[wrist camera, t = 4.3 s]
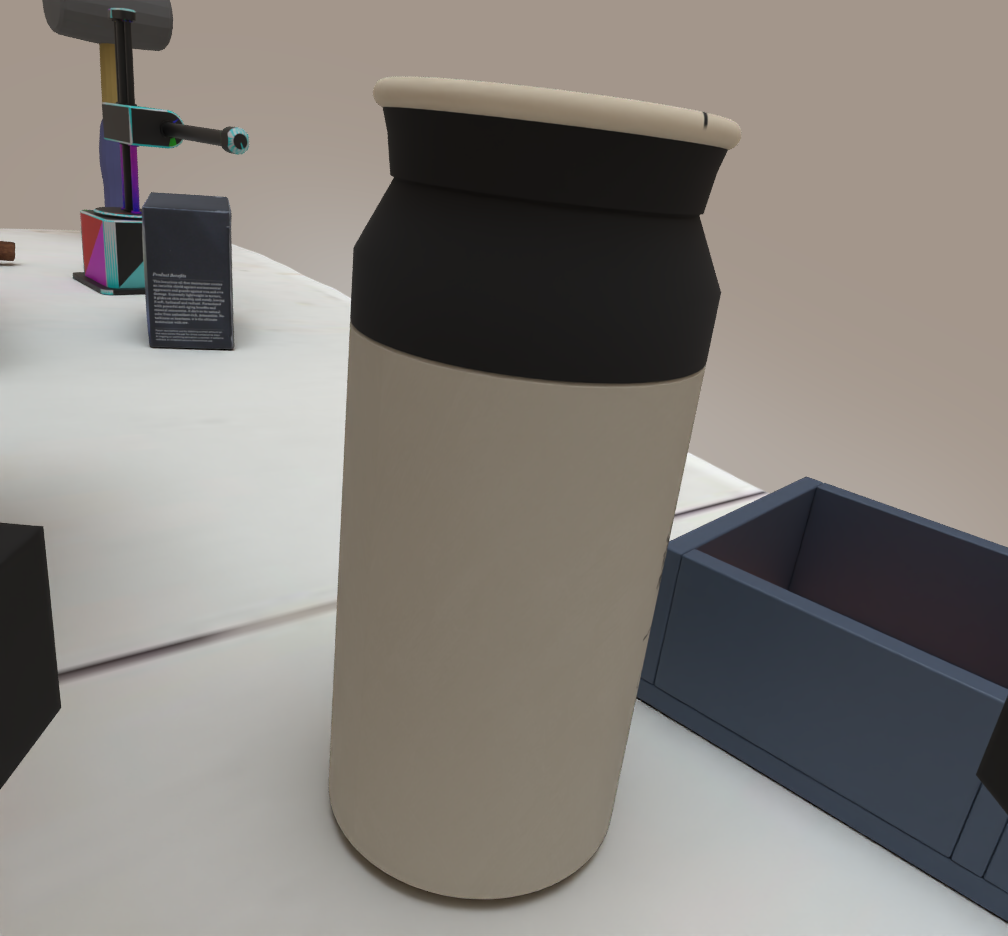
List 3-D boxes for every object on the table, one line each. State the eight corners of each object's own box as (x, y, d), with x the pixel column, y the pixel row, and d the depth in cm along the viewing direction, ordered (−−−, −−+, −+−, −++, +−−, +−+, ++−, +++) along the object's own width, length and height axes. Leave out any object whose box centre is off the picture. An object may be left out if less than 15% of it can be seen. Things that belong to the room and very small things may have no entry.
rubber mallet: (78, 251, 96) (57, -45, 85) (57, 241, 101) (35, -40, 90) (183, 251, 104) (176, -18, 93) (159, 242, 109) (150, -15, 98)
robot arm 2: (60, 271, 84) (38, 1, 75) (149, 270, 90) (139, 20, 81) (161, 326, 68) (148, -9, 59) (262, 320, 74) (264, 15, 65)
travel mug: (282, 874, 20) (301, 57, 13) (374, 681, 27) (414, 94, 21) (607, 940, 19) (792, 114, 13) (611, 725, 27) (730, 131, 20)
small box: (152, 316, 71) (146, 189, 67) (231, 320, 73) (231, 196, 69) (144, 347, 61) (137, 201, 58) (236, 350, 64) (235, 210, 60)
